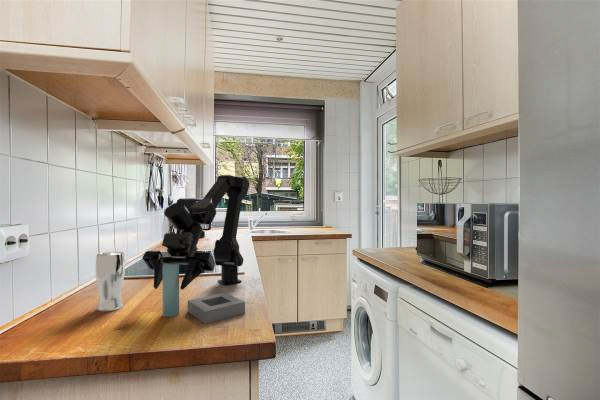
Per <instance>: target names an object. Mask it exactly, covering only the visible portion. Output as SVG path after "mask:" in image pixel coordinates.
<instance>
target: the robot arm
mask: <svg viewBox="0 0 600 400" xmlns="http://www.w3.org/2000/svg"><path fill="white" fill-rule="evenodd" d="M250 184H251V183H250V181H249V179H248V178H247V177H246V176H234V175H231V174H220V175H218V176H217V178H216V181H215V182H214V183H213V185H212V186H211V188H209V190H208V191H207V193H206V194H205V195H204V197H203V198H202V199H200V200H198V201H196V202H194V203H193V204H192V205H191V206H190V207H189V206H188V205H187V202H186V201H185V200H184V199H178V200H177V201H176V202H174V203H172V204H170V205H169V206H166V208H165V209H164V212H163V213H164V216H165V217H166V219H167V220H168V222H170V224H171V225H172V226H173V228H174V229H175V230H177V231H180V232H179V233H169V232H168V233H167V232H166V233H164V235H163V237H162V238H163V239H162V244H161V246H162V247H165V248H166V253H167V254H169V255H163V253H162V251H161V250H146V251H145V252H144V254H143V256H142V257H141V259H142V260H143V261H144V263H145V265H146V266H147V267H148V268H149V269H150V270H152V271H154V272H153V273H154V274H153V288H154V289H155V290H157V289H158V288H159V287H160V284H161V283H162V282H163V264H167V263H179V265H187V269H186V270H185V273H184V276H183V278H182V281H181V284H180V286H179V289H180V290H182V291H184V290H185V289H186V288H187V286H188V285H190V284H191V283H192V282H193V281H194V280H195V279H196V278H197V277H199V276H200V275H202V274H205V272H213V271H214V269H215V266H221V267H220V268H221V269H220V270H221V271H220V275H221V278H220V279H217V282H218V283H220V284H222V285H225V286H228V285H234V284H237V283H238V284H239V283H242V280H241V279H239V271H238V269H239V267H242V266H243V264H244V257H243V255H242V254H241V252H240V245H239V243H238V239H237V235H238V229H239V228H238V227H239V220H240V215H241V214H240V213H241V208H242V202H243V200H244V199H245V198H246V196H247V195H248V192H249V188H250V187H251V186H250ZM226 194H227V195H226ZM225 195H226V196H227V198H228V200H227V207H226V213H225V218H224V223H223V229H222V230H223V231H222V236H221V237H220V238H219V239H216V240H215V242H214V248H213V255H212V253H211V252H210V251H198V247H197V245H198V243H199V241H200V238H202V237H205V236H206V234H205V231H204V228H203V227H202V225H211V224H212V223H213V222H214V219H215V217H216V215H217V206H218V205H219V204H220V202H221V201H222V199H223V198H224V196H225Z"/></svg>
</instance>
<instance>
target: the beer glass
mask: <svg viewBox="0 0 600 400" xmlns="http://www.w3.org/2000/svg"><path fill="white" fill-rule="evenodd" d="M95 257H96V258H95V278H96V284H97V285H96V286H97V290H98V296H99V297H98V298H99V299H98V304H97V311H99V312H113V311H117V310H120V309H121V308H123V307H124V303H123V299H122V297H123V296H122V290H123V285H124V284H123V283H124V279H125V271H126V265H125V264H126V261H125V253H124V252H123V251H109V252H108V251H107V252H101V253H97V254H96V256H95Z"/></svg>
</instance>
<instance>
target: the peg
mask: <svg viewBox="0 0 600 400" xmlns="http://www.w3.org/2000/svg"><path fill="white" fill-rule="evenodd" d="M178 315H180V264H179V263H166V264H163V280H162V317H165V318H173V317H177V316H178Z"/></svg>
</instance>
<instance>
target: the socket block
mask: <svg viewBox="0 0 600 400" xmlns="http://www.w3.org/2000/svg"><path fill="white" fill-rule="evenodd" d="M187 312H188V313H189V314H191V315H192V316H193V317H195V318H196V319H197V320H199V321H200V322H202V323H203V324H205V325H207V324H210V323H214V322H217V321H221V320H225V319H229V318H232V317H235V316H240V315H243V314H246V301H244V300H243V299H240V298H238V297H235V296H234V295H232V294H229V293H227V292H221V293H217V294H211V295H207V296H202V297H198V298H194V299H188V300H187Z"/></svg>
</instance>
